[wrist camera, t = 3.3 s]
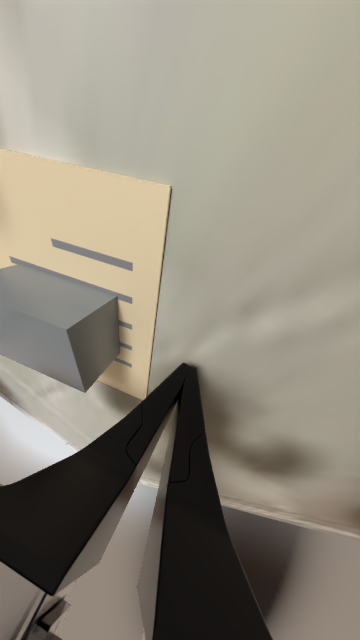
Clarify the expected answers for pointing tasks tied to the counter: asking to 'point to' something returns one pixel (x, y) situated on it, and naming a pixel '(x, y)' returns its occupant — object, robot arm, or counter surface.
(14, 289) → the paperweight
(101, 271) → the letter
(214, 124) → the counter surface
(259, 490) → the counter surface
